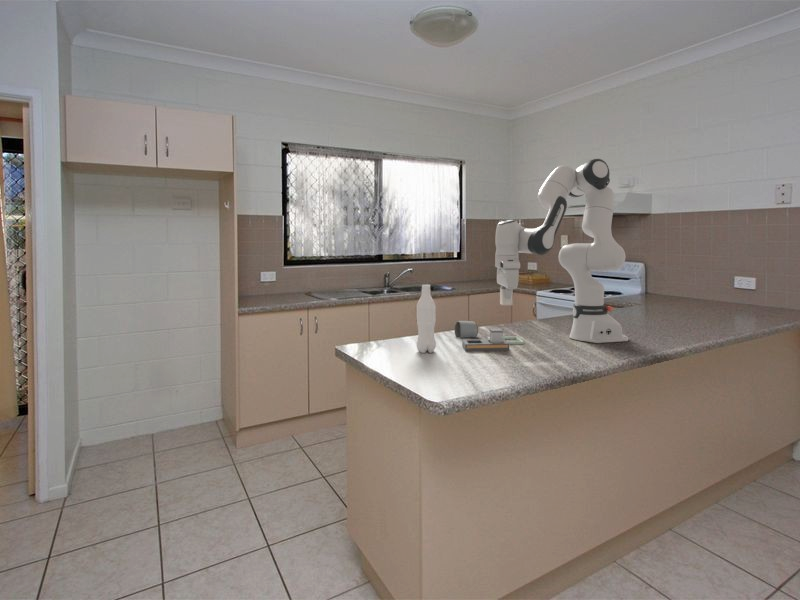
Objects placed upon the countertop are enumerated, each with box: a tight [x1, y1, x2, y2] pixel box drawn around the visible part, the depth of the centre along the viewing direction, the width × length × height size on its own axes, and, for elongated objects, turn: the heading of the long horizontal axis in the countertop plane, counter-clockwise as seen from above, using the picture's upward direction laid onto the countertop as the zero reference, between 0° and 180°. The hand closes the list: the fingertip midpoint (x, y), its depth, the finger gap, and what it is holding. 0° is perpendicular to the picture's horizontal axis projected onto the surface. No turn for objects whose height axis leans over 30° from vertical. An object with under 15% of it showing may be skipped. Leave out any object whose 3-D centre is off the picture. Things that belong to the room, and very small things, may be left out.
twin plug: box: [489, 328, 504, 343], centre depth 183 cm, size 4×4×7 cm
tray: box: [487, 335, 525, 345], centre depth 195 cm, size 12×10×2 cm
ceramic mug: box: [453, 320, 479, 339], centre depth 207 cm, size 11×8×8 cm
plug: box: [499, 285, 514, 306], centre depth 192 cm, size 4×4×7 cm
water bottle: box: [415, 284, 437, 354], centre depth 182 cm, size 7×7×25 cm
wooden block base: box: [461, 338, 510, 352], centre depth 183 cm, size 16×8×4 cm, turn 91°
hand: (506, 297), depth 192 cm, fingers closed on plug, 4 cm apart
